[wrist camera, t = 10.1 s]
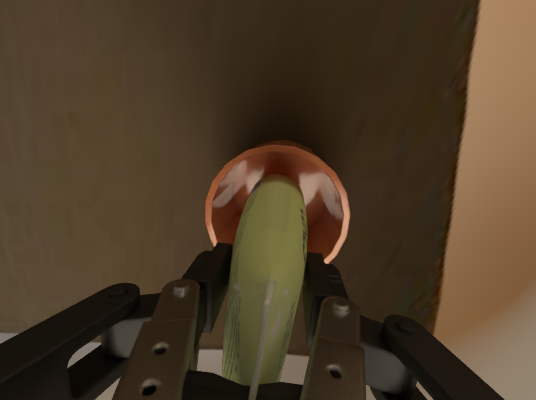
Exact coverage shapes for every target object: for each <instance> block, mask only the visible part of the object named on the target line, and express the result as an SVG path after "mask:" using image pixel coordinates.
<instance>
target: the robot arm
mask: <svg viewBox="0 0 536 400" xmlns="http://www.w3.org/2000/svg"><path fill="white" fill-rule="evenodd" d="M232 252H233V245H232V244H231V243H222V242H217V244H216V245H215V247H214V248H213V250H212V251H204V252H202V253H201V254H199V255H198V256H197V257H196V259H195V260H194V262H193V263H192V264H191V266H190V267H189V268H188V270H187V271H186V273H185V274H184V275H183V277H182V278H181V279H178V280H174V281H171V282H169V283H168V284H166V285H165V286H164V287H163V289H162V292H161V293H157V294H147V295H140V290H139V287H138V286H137V285H135V284H131V283H120V284H115V285H112V286H109V287H107V288H105V289H103V290H101V291H99V292H97V293H95V294H94V295H92V296H90V297H88V298H86V299H84V300H82V301H80V302H78V303H77V304H75V305H73V306H71V307H69V308H67V309H65V310H63V311H61V312H60V313H58V314H56V315H54V316H52V317H50V318H48V319H46V320H44V321H43V322H41V323H39V324H37V325H35V326H33V327H31V328H29V329H27V330H26V331H24V332H22V333H20V334H18V335H16V336H14V337H12V338H10V339H9V340H7V341H5V342H3V343H1V344H0V400H95V399H96V398H97V397H98V396H99V395H100V394H102V392H104V391H105V390H106V389H107V388H108V387H109V386H111V384H113V383H114V382H115V381H116V380H117V379H118V378H120V377H121V378H120V381H119V383H118V386H117V388H116V390H115V393H114V395H113V398H112V400H248V398H249V392H250V385H249V386H245V385H241V384H239V383H236V382H234V381H231V380H229V379H226V378H224V377H221V376H219V375H217V374H214V373H209V372H202V371H197V363H198V354H199V339H200V337H201V335H202V333H203V332H207V333H211V331H212V329H213V326H214V323H215V321H216V318H217V316H218V313H219V310H220V308H221V305H222V303H223V300H224V297H225V295H226V292H227V290H228V285H229V276H230V267H231V258H232ZM303 304H304V317H305V330H306V343H307V345H309V346H312V347H311V351H310V356H309V361H308V365H307V370H306V375H305V379H304V384H303V385H299V384H292V383H284V382H275V383H267V384H259V386H258V390H257V395H256V400H366V385H369V386H370V388H371V391H372V393H373V395H374V397H375V398H376V400H427V399H426V398H425V397H424V395H423V394H422V393H421V392H420V391H419V389H418V388H417V387H416V383H417V381H418V382H419V383H420V384H421V385H422V387H423V388H424V389H425V390H426V391H427V392H428V394H429V395H430V396H431V397H432V398H433V400H504V399H503V398H502V397H501V396H500V395H499V394H498V393H496V392H495V391H494V390H493V389H492V388H491V387H490V386H489V385H488V384H486V383H485V382H484V381H483V380H482V379H481V378H480V377H479V376H477V375H476V374H475V373H474V372H473V371H472V370H471V369H470V368H469V367H467V366H466V365H465V364H464V363H463V362H462V361H461V360H460V359H458V358H457V357H456V356H455V355H454V354H453V353H452V352H451V351H449V350H448V349H447V348H446V347H445V346H444V345H443V344H442V343H440V342H439V341H438V340H437V339H436V338H435V337H434V336H433V335H432V334H430V333H429V332H428V331H427V330H426V329H425V328H424V327H423V326H421V325H420V324H419V323H417V322H416V321H414V320H412V319H410V318H407V317H405V316H401V315H390V316H387V317H386V318H385V320H384V324H383V323H380V322H377V321H374V320H371V319H368V318H366V317H364V316H362V315H360V310H359V308H358V306H357V305H356V304H355V303H354V302H352V301H351V300H349V298H348V296H347V293H346V290H345V287H344V284H343V281H342V278H341V275H340V272H339V270H338V269H337V268H336V267H335V266H334V265H333V264H326V263H325V262H324V258H323V254H322V253H315V252H307V258H306V266H305V272H304V277H303ZM99 335H101V345H100V346H98V347H97V348H95V349H94V350H93V351H91V352H90V353H89V354H87V355H86V356H85V357H83V358H82V359H80V360H79V361H77V362H76V363H75V364H73V365H72V366H70V367H69V368H68V369H67V365H68V362H69V360H70V358H71V357H72V355H73V354H74V353H75V352H76V351H77V350H79V349H80V348H81V347H83V346H84V345H86V344H87V343H89V342H90V341H92V340H93V339H95V338H96V337H98V336H99Z"/></svg>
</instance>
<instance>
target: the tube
mask: <svg viewBox="0 0 536 400" xmlns="http://www.w3.org/2000/svg"><path fill="white" fill-rule="evenodd" d="M306 258H307V218H306V209H305V202H304V196H303V193H302V190H301V188H300V186H299V185H298V183H297V182H296V181H294V180H293V179H292V178H290V177H288V176H286V175H282V174H271V175H268V176H265V177H263V178H262V179H260V180H259V181H258V182H257V183H256V184H255V185H254V187H253V189H252V191H251V193H250V195H249V197H248V200H247V202H246V205H245V207H244V210H243V213H242V215H241V218H240V222H239V225H238V229H237V232H236V237H235V241H234V246H233V252H232V258H231V267H230V276H229V285H228V296H227V307H226V318H225V330H224V344H223V359H222V377H224V378H226V379H229V380H231V381H234V382H236V383H239V384H241V385H245V386H249V385H250V392H249V398H248V400H256V395H257V390H258V386H259V384H267V383H275V382H280V378H281V373H282V369H283V365H284V361H285V357H286V353H287V349H288V345H289V340H290V336H291V331H292V327H293V322H294V318H295V313H296V309H297V305H298V300H299V296H300V291H301V287H302V282H303V277H304V272H305V266H306Z"/></svg>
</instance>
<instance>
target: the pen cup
mask: <svg viewBox="0 0 536 400" xmlns="http://www.w3.org/2000/svg"><path fill="white" fill-rule="evenodd" d="M271 174H282V175H286V176H288V177H290V178H292V179H293V180H294V181H296V182H297V183H298V185H299V186H300V188H301V190H302V193H303V196H304V202H305V209H306V218H307V252H315V253H322V254H323V258H324V262H325V263H326V264H328V263H329V262H330V261H331V260H332V259H333V258H334V257H336V255H337V254H338V252H339V250H340V248H341V246H342V245H343V243H344V241H345V239H346V236H347V233H348V227H349V221H350V209H349V203H348V197H347V193H346V191H345V189H344V187H343V185H342V183H341V182H340V180H339V178H338V176H337V174H336V173H335V172H334V171H333V170H332V169H331V168H330V167H329V166H328V165H327V164H326V163H325V162H324V161H323V160H322V159H321V158H319V157H318V156H317V155H316V154H315V153H314V152H313V151H312V150H311V149H309V148H308V147H305V146H303V145H301V144H299V143H296V142H293V141H285V140H274V141H270V142H266V143H262V144H259V145H257V146H255V147H253V148H251V149H249V150H247V151H245V152H243V153H242V154H240V155H239V156H237V157H235V158H234V159H232V160H231V161H229V162H228V163H227V164H226V165H225V166H224V167H223V168H222V170H221V171H220V172H219V173H218V175H217V176H216V177H215V178H214V180H213V182H212V184H211V187H210V190H209V193H208V195H207V198H206V208H205V222H206V226H207V229H208V232H209V236H210V239H211V242H212V244H213V245H214V247H215V245H216V244H217V242H222V243H231V244H232V245H233V246H234V241H235V237H236V232H237V229H238V225H239V222H240V218H241V215H242V213H243V210H244V207H245V205H246V202H247V200H248V197H249V195H250V193H251V191H252V189H253V187H254V185H255V184H256V183H257V182H258V181H259V180H260V179H262V178H263V177H265V176H268V175H271Z"/></svg>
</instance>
